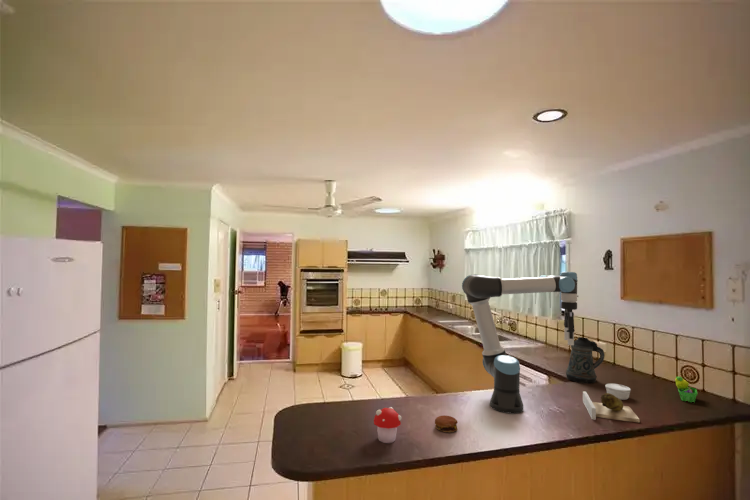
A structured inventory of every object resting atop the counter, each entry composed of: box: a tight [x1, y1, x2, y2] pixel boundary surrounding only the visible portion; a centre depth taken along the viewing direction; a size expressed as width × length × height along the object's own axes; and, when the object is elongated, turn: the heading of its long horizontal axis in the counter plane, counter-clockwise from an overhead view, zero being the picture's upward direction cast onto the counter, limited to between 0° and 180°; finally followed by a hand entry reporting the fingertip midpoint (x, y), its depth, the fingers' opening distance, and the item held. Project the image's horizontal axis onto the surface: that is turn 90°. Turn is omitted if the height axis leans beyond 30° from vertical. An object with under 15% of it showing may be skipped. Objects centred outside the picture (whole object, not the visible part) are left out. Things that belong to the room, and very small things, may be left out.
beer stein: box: [565, 336, 605, 384], centre depth 232 cm, size 16×19×25 cm
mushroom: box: [373, 406, 402, 444], centre depth 149 cm, size 11×11×12 cm
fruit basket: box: [674, 376, 698, 403], centre depth 200 cm, size 11×9×11 cm
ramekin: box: [604, 383, 632, 401], centre depth 202 cm, size 11×11×5 cm
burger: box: [434, 415, 459, 433], centre depth 160 cm, size 10×9×5 cm
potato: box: [600, 392, 624, 411], centre depth 179 cm, size 8×13×8 cm, turn 104°
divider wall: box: [582, 391, 597, 421], centre depth 183 cm, size 2×24×5 cm, turn 160°
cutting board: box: [592, 401, 641, 423], centre depth 179 cm, size 17×16×2 cm
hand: (568, 342), depth 199 cm, fingers open, 13 cm apart
